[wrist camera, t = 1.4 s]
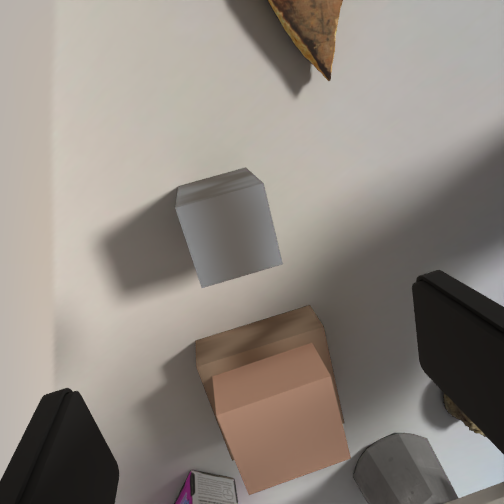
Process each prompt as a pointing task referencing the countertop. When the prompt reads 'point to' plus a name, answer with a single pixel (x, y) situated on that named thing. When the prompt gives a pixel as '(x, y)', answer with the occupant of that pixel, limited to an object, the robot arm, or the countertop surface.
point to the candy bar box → (207, 489)
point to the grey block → (227, 226)
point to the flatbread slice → (311, 28)
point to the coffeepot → (402, 472)
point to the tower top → (280, 417)
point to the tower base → (260, 347)
